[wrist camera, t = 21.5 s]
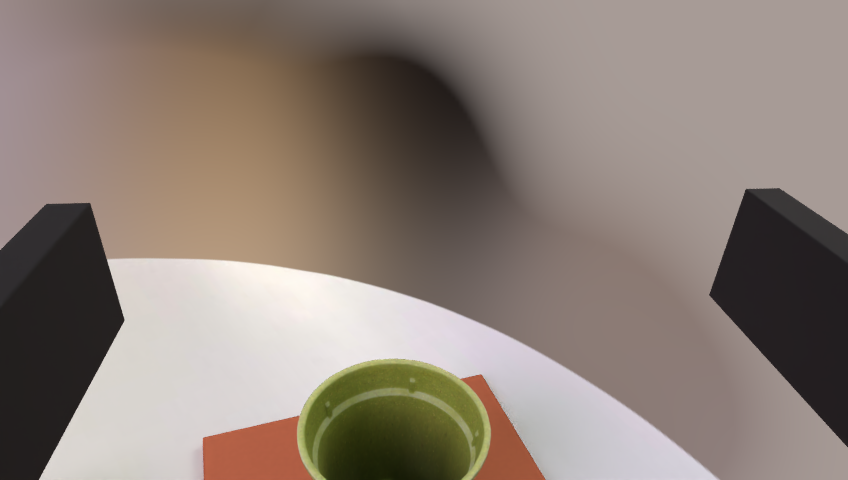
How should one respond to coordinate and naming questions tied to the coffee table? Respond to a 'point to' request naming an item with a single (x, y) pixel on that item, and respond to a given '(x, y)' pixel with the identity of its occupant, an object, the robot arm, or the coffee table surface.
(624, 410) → the coffee table surface
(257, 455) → the terracotta mat
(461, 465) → the plant pot
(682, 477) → the coffee table surface
